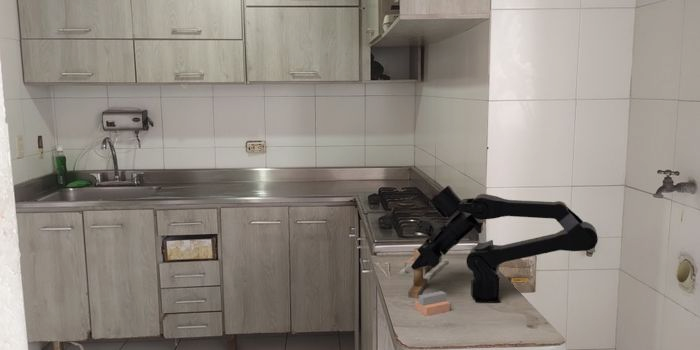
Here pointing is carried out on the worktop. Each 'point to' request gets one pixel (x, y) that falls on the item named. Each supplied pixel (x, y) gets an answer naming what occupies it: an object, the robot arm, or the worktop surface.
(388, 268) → the pair of ivory hairpins
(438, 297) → the fulcrum stand
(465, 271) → the worktop surface
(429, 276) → the packaged product
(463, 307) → the worktop surface
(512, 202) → the robot arm
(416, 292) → the wooden stamp
